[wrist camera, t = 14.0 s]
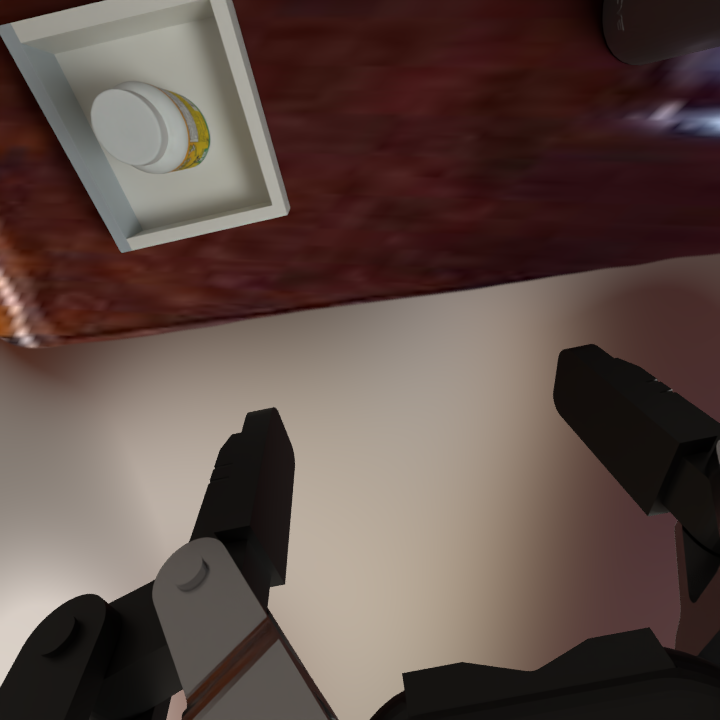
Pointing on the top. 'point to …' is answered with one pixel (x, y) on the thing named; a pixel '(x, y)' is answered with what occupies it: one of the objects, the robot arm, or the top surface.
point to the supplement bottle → (150, 127)
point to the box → (167, 71)
